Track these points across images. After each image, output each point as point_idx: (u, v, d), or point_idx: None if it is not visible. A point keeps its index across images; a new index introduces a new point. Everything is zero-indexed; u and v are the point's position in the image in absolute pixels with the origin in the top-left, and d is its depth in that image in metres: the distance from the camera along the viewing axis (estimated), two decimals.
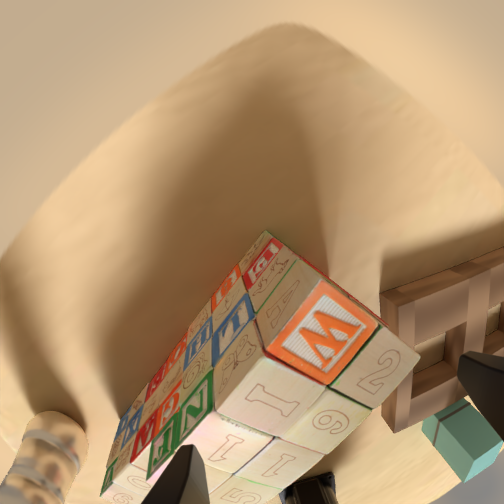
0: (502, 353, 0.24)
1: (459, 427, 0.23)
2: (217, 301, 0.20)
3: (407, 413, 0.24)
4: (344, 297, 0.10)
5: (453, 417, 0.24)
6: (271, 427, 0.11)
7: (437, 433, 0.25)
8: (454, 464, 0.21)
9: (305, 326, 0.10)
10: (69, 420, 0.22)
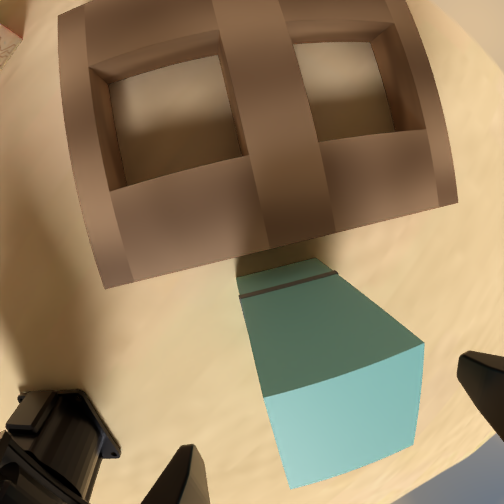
0: (398, 150, 0.13)
1: (278, 309, 0.12)
2: None
3: (115, 233, 0.12)
4: None
5: (277, 292, 0.13)
6: None
7: None
8: None
9: None
10: None
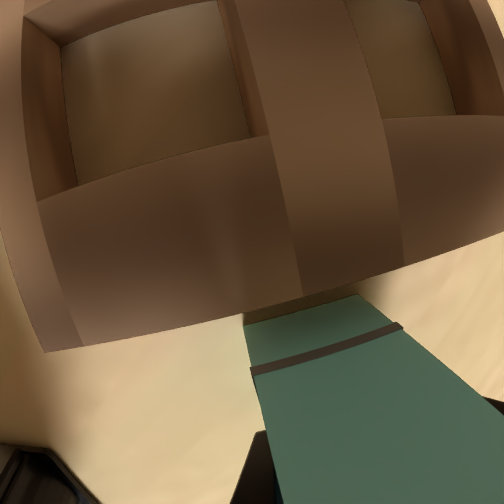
0: (482, 141, 0.08)
1: (322, 410, 0.06)
2: None
3: (49, 271, 0.07)
4: None
5: (314, 367, 0.08)
6: None
7: None
8: None
9: None
10: None
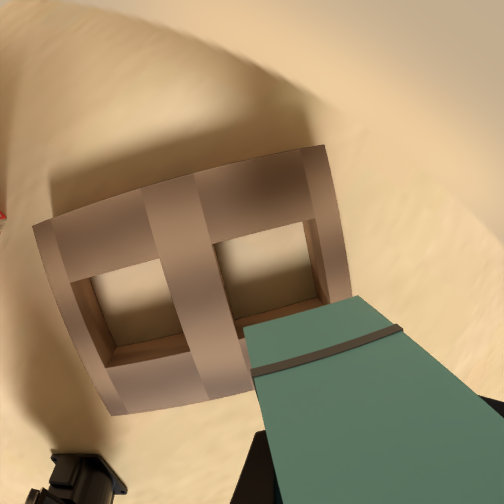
0: None
1: (322, 412, 0.06)
2: None
3: (113, 390, 0.18)
4: None
5: (314, 369, 0.08)
6: None
7: None
8: None
9: None
10: None
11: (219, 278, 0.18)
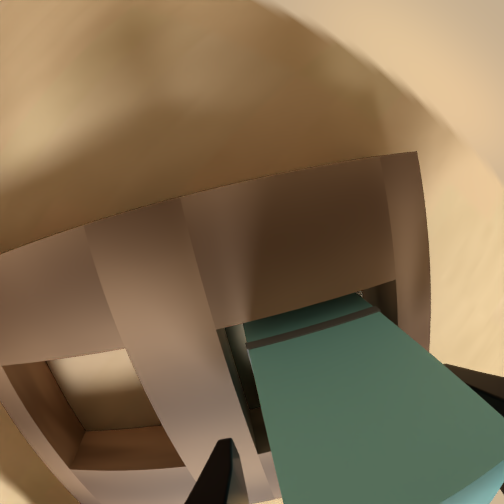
0: None
1: (305, 375, 0.07)
2: None
3: (85, 490, 0.10)
4: None
5: (300, 342, 0.09)
6: None
7: None
8: None
9: None
10: None
11: (230, 381, 0.10)
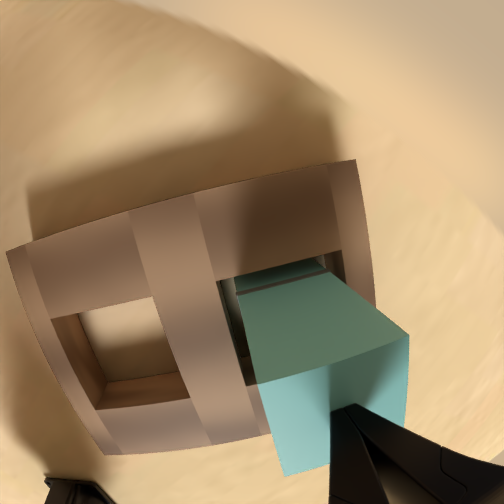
0: None
1: (273, 305, 0.12)
2: None
3: (105, 431, 0.15)
4: None
5: (272, 289, 0.14)
6: None
7: None
8: None
9: None
10: None
11: (224, 320, 0.15)
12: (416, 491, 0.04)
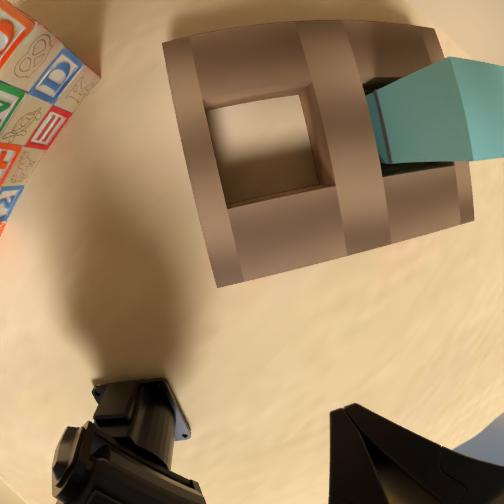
0: (434, 182, 0.17)
1: None
2: None
3: (231, 243, 0.17)
4: None
5: None
6: None
7: (383, 123, 0.16)
8: (434, 140, 0.12)
9: None
10: None
11: (367, 109, 0.16)
12: (416, 491, 0.04)
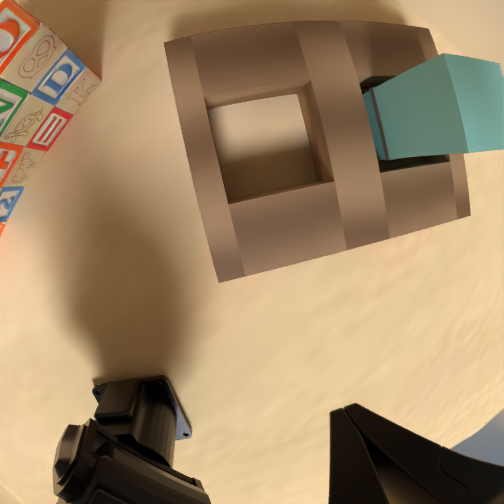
0: (431, 178, 0.18)
1: None
2: None
3: (232, 238, 0.17)
4: None
5: None
6: None
7: (380, 120, 0.16)
8: (429, 134, 0.12)
9: None
10: None
11: (364, 107, 0.16)
12: (416, 491, 0.04)
